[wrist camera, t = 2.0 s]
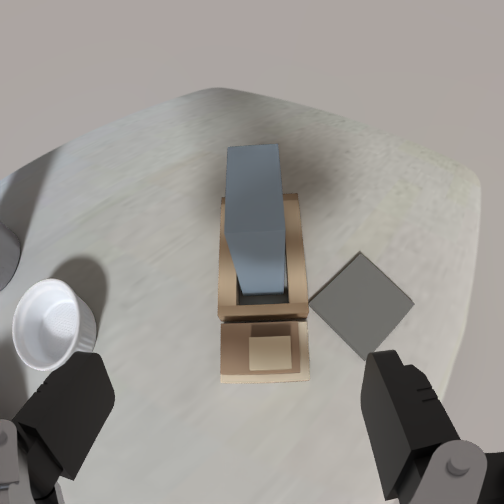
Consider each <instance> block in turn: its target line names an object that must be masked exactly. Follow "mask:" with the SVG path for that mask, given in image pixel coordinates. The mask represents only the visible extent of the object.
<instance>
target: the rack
mask: <svg viewBox="0 0 504 504" xmlns="http://www.w3.org/2000/svg"><path fill="white" fill-rule="evenodd" d="M283 205H284V217H285V230H286V231H285V255H286V270H287V286H288V303H286V304H263V305H239V280H238V277H237V273H236V270H235V267H234V264H233V260H232V257H231V254H230V251H229V247H228V244H227V241H226V238H225V234H224V223H225V197H222V201H221V224H220V250H219V281H218V317H219V318H220V320H221V321H259V320H283V319H302V318H307V316H308V313H309V307H308V294H307V282H306V270H305V259H304V249H303V239H302V229H301V220H300V211H299V202H298V193H294V194H283ZM220 374H221V383H275V382H295V381H309V380H310V371H309V352H308V335H307V322H298V321H286V322H264V323H230V324H221V371H220Z"/></svg>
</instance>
